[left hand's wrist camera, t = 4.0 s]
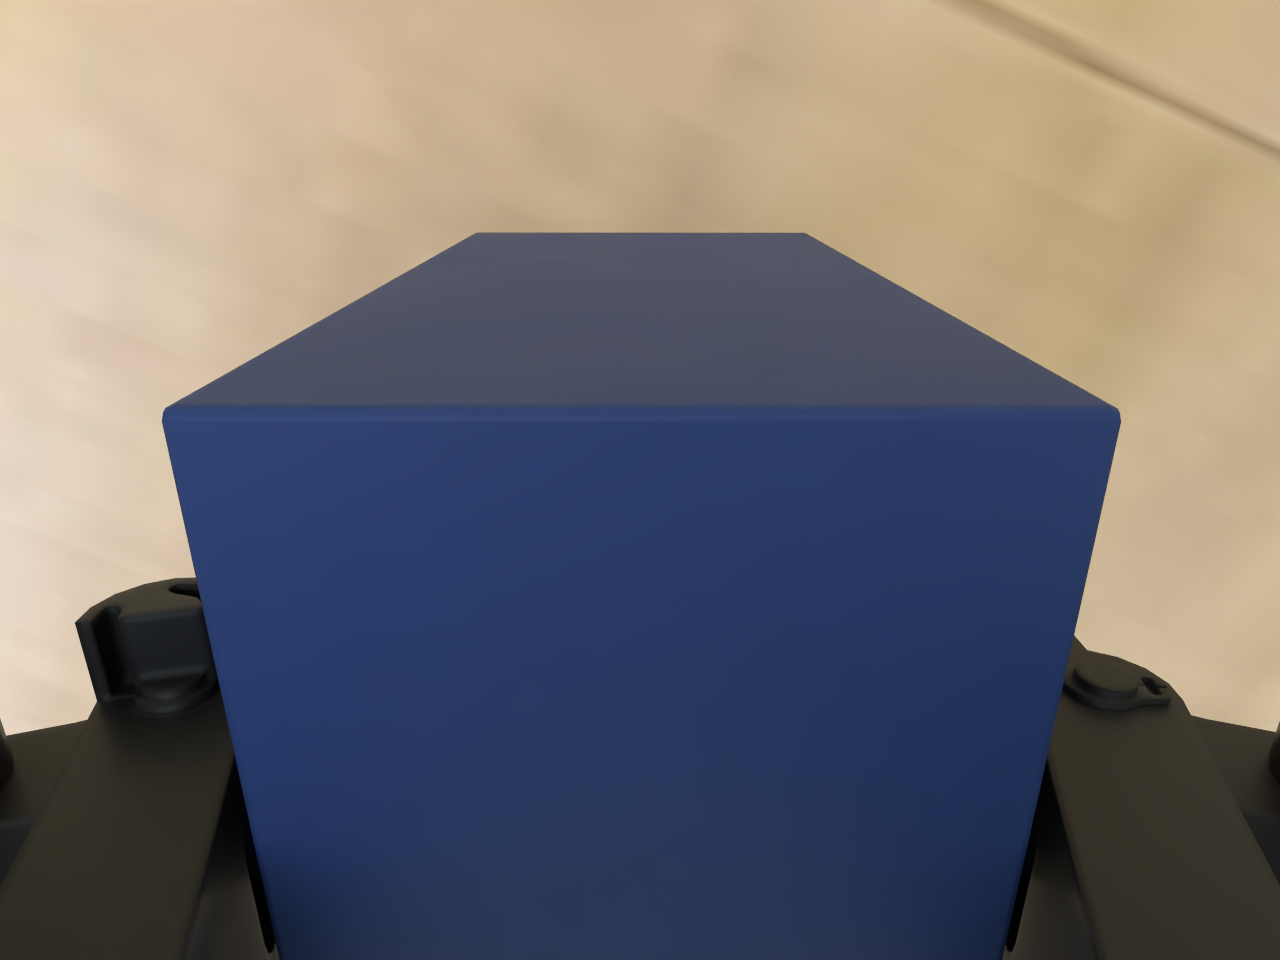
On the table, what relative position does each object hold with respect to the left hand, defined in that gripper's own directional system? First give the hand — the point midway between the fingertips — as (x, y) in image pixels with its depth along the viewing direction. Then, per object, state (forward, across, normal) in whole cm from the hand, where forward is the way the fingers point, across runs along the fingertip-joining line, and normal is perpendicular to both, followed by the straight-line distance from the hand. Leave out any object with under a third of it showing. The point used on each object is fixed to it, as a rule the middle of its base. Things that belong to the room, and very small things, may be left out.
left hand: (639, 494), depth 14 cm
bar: (+1, 0, -9) cm, 9 cm away
